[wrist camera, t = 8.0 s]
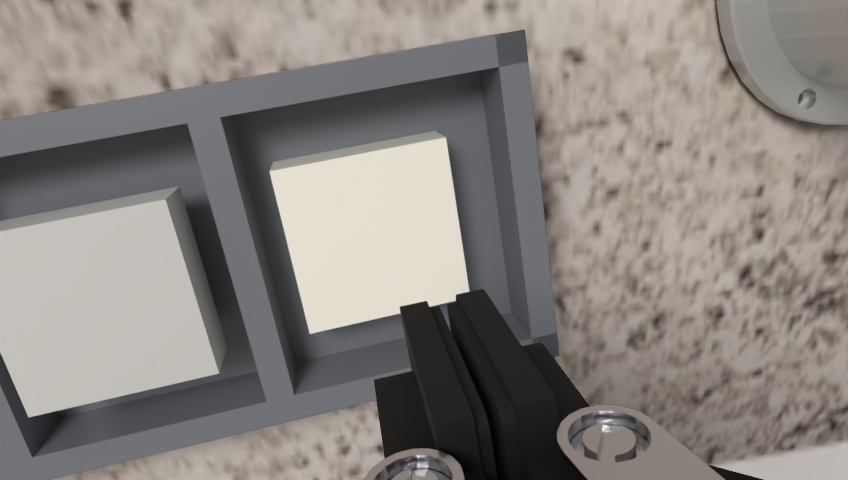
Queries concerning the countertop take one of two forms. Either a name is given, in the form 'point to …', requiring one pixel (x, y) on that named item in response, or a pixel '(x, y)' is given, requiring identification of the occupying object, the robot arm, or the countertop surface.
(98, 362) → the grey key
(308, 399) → the grey compartment tray
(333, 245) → the cream key
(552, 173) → the countertop surface
